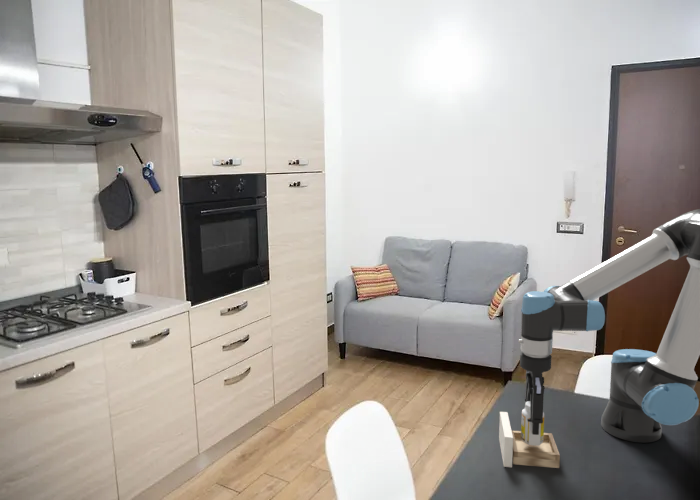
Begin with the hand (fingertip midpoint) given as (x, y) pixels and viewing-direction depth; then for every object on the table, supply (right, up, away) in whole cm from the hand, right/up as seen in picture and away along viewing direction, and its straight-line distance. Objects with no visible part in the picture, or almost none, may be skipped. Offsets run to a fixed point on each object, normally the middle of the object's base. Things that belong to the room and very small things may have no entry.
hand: (532, 438), depth 139 cm
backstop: (-6, -4, +2) cm, 8 cm away
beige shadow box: (0, -4, +1) cm, 5 cm away
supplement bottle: (0, -1, 0) cm, 1 cm away
